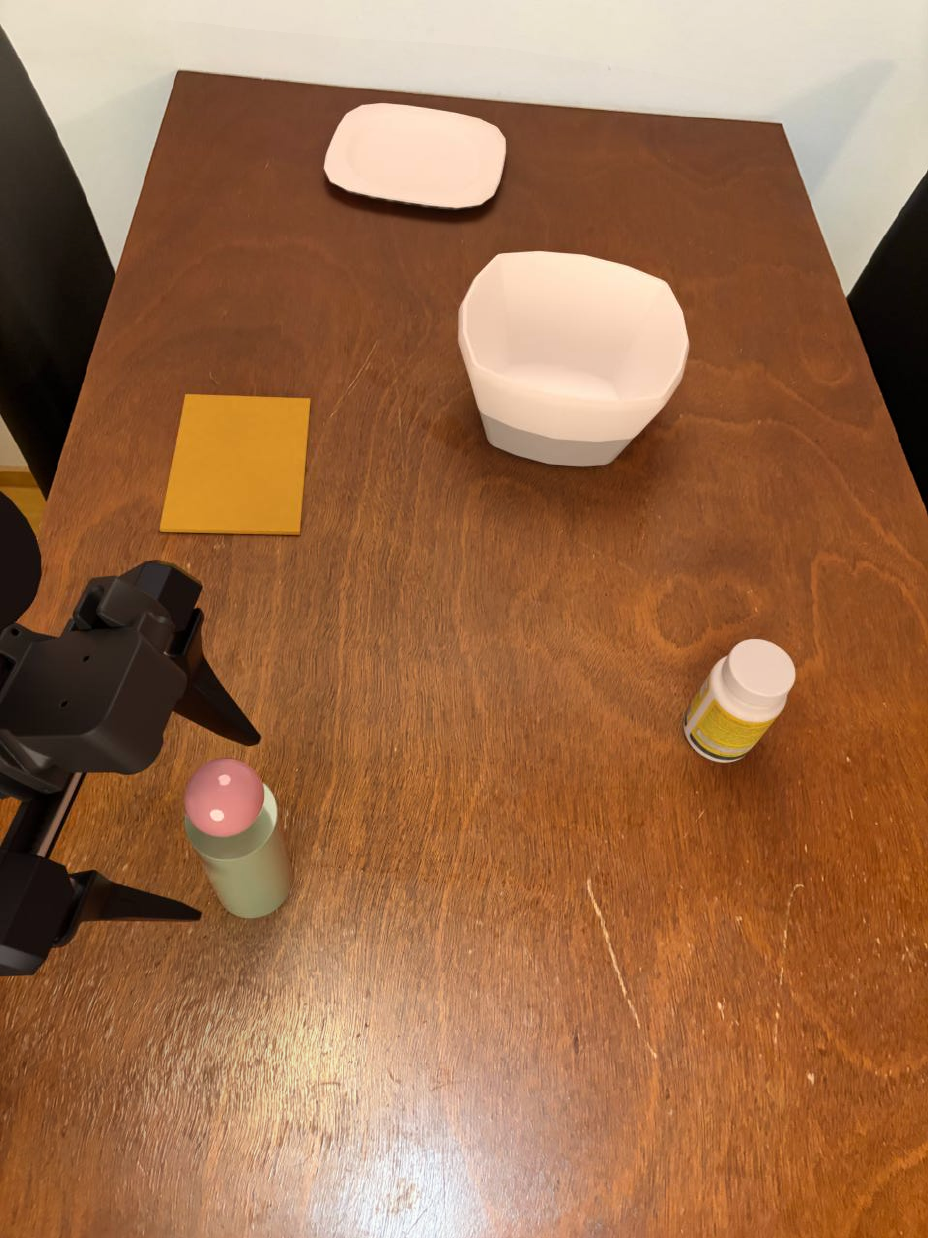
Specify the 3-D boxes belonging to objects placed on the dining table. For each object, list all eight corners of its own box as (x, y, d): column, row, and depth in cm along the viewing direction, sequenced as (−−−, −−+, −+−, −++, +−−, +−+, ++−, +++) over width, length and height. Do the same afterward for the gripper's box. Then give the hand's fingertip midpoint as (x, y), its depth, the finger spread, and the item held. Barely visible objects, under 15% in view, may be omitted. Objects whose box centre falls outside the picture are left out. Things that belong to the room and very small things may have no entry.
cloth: (300, 535, 65) (299, 531, 65) (160, 531, 64) (159, 528, 64) (310, 401, 73) (310, 398, 73) (186, 397, 72) (185, 393, 72)
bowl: (661, 362, 79) (693, 270, 72) (656, 511, 69) (691, 422, 62) (465, 329, 80) (475, 233, 72) (432, 472, 70) (440, 379, 62)
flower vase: (251, 935, 49) (213, 850, 38) (198, 882, 51) (146, 784, 39) (309, 877, 51) (290, 779, 40) (257, 827, 53) (224, 718, 41)
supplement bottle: (762, 760, 58) (814, 699, 51) (693, 768, 57) (738, 707, 50) (738, 696, 61) (785, 629, 54) (673, 703, 60) (712, 636, 53)
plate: (312, 200, 89) (311, 184, 87) (350, 110, 99) (349, 94, 97) (491, 229, 88) (493, 213, 87) (510, 135, 99) (512, 119, 97)
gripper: (-144, 886, 25) (274, 1029, 34) (113, 428, 36) (382, 629, 44) (-248, 910, 32) (123, 1024, 41) (-7, 520, 42) (247, 678, 51)
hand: (227, 825), depth 44 cm, fingers open, 9 cm apart
